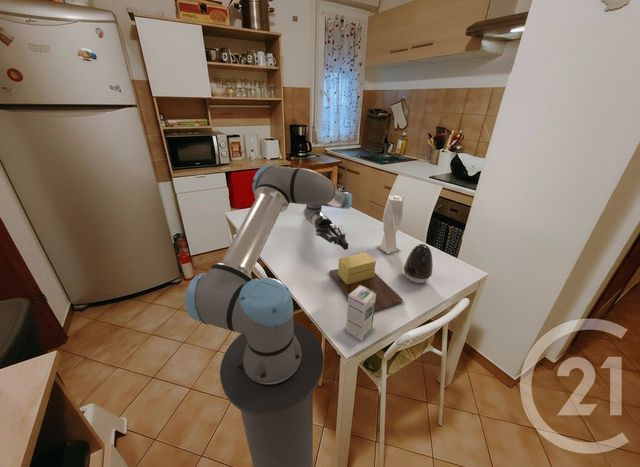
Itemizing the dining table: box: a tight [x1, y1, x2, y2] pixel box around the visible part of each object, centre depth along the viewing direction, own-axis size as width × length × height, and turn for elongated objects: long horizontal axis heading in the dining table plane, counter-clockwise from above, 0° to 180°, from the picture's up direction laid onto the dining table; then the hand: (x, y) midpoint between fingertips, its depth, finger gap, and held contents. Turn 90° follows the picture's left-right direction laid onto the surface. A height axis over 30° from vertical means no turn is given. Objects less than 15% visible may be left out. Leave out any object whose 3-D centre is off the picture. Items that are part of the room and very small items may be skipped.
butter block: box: [337, 265, 376, 284], centre depth 101 cm, size 12×7×4 cm, turn 114°
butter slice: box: [338, 252, 377, 275], centre depth 99 cm, size 12×7×3 cm, turn 114°
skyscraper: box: [377, 193, 405, 255], centre depth 115 cm, size 8×8×28 cm
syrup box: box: [346, 285, 376, 341], centre depth 76 cm, size 6×6×14 cm
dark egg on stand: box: [403, 243, 434, 284], centre depth 99 cm, size 10×10×15 cm
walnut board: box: [328, 268, 404, 313], centre depth 98 cm, size 16×25×2 cm, turn 24°
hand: (346, 246), depth 105 cm, fingers closed
